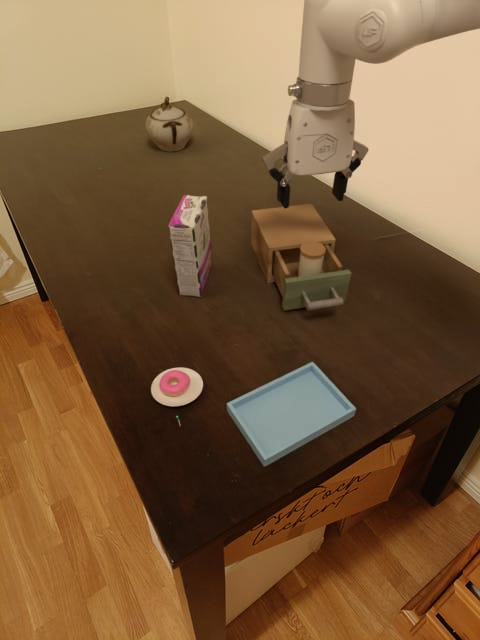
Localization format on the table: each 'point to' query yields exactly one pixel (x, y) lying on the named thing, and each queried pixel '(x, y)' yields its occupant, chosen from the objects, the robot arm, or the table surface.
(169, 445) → the table surface
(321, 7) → the robot arm
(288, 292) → the drawer
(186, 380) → the donut
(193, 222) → the candy bar box
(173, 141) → the sugar bowl
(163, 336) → the table surface
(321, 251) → the spice pot
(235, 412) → the tray
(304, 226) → the cabinet
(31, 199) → the table surface
